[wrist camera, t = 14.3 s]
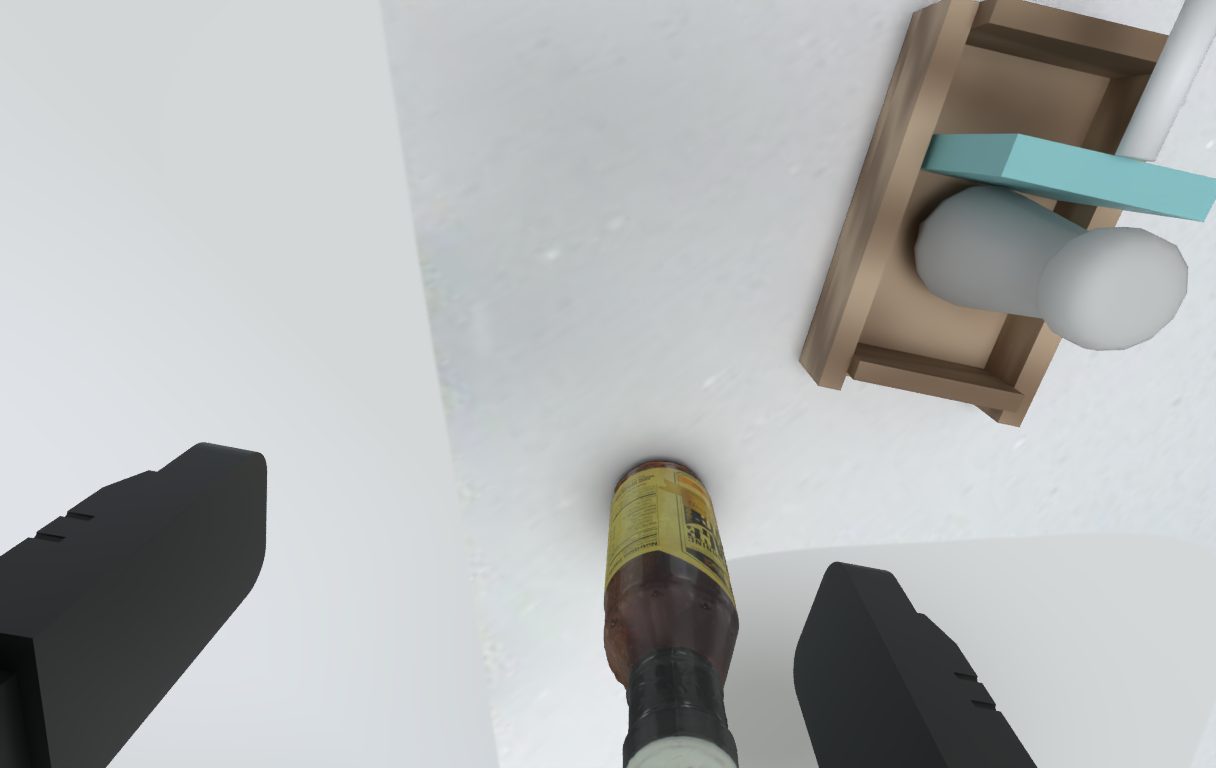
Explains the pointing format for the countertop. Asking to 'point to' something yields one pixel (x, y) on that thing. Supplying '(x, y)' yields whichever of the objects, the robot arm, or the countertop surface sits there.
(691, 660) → the sauce bottle
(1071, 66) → the wooden tray
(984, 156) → the pusher paddle
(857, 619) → the robot arm
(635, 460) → the countertop surface
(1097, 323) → the salt shaker
